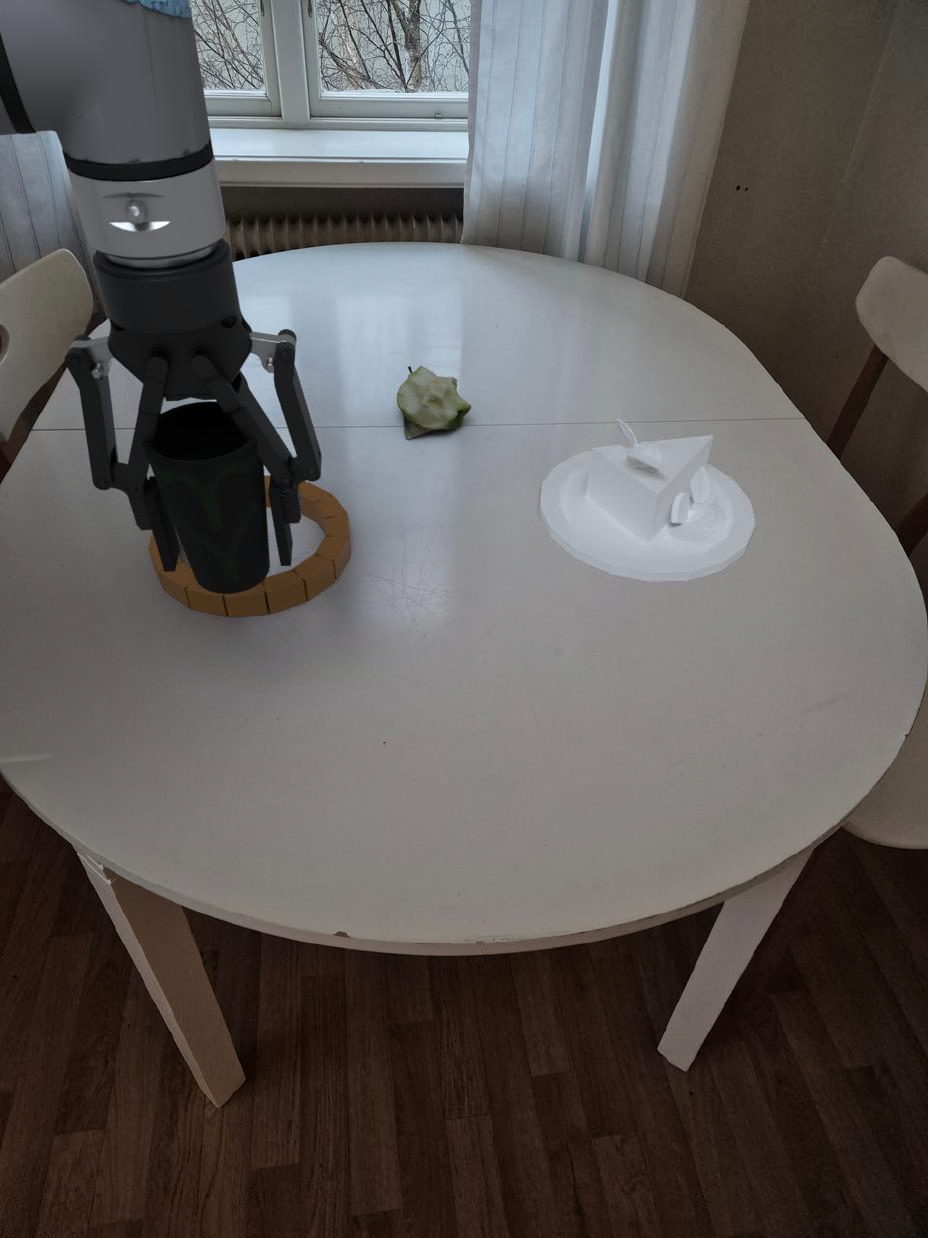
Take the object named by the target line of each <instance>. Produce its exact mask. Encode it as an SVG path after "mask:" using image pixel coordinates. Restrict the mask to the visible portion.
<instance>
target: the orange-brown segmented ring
mask: <svg viewBox="0 0 928 1238" xmlns="http://www.w3.org/2000/svg"><path fill="white" fill-rule="evenodd" d="M264 477H265V493H266V508H271V507H270V501H269V495H268V492H269V483H270V474H268V475H267V474H264ZM299 488H300V495H301V502H302V513H301V515H302V516H305V517H306V518H308V519H310V520H312V521H314V522H316V524H318V526H319V527H320V529H321V530H322V532H323V534H325V536H324V538H323V540H322V541H321V542H320V544H319V545H318V548H317V549H316V550H315V552H314V553H313V554H312V555H310V556H309V557H307V558H306V559H304V560H303V561H301V562H300V563H299V564H297V565H295V566H294V567H293V568H291V569H288V570H284V571H281V572H279V573H275V574H272V575H270V576H266V578H265V579H264V580H263V581H262V582H261V583H259V584H258V585H256V586H255V587H253V588H251V589H248V590H246V591H243V592H239V593H233V594H218V593H214V592H210V591H208V590H206V589H204V588H202V587H201V586H200V585H199V584H198V582H197V581H196V579H195V576H194V574H193V571H192V569H191V566H190V565H188V564H186V563H185V562H183V561H182V560H181V558H180V557H181V551H182V548H183V546H182V544H181V541H180V539H179V536H178V534H177V531H176V534H177V538H178V541H179V545H180V552H179V556H178V561H177V565H176V569H175V571H174V572H164V569H163V565H162V562H161V558H160V555H159V552H158V548H157V545H156V541H155V538H154V535H153V531H152V530H151V535H150V539H149V542H148V543H149V544H148V553H149V557H150V560H151V563H152V568H153V570H154V572H155V573H156V574H155V575H156V577H157V579H158V581H159V583H160V585H161V587H162V589H163V590H162V591H164V592H165V593H166V594H167V595H169V596H170V597H172V598H173V599H175V601H178V602H179V603H181V604H182V605H184V606H185V607H187V608H188V609H191V610H193V611H197V612H201V613H207V614H210V615H215V616H220V617H224V618H227V617H228V618H240V617H241V618H242V617H253V616H254V617H255V616H268V615H269V614H270V615H273V614H275V613H279V612H281V611H284V610H288V609H290V608H293V607H296V606H300V605H303V604H304V603H305V604H306V603H307V601H308V602H309V601H311V600H312V599H314V598H315V597H317V596H318V595H320V594H321V593H322V592H324V591H325V590H326V589H328V588H329V587H331V586H332V585H333V584H335V583H336V581H338V579H339V577H340V575H341V574H342V572H343V571H344V569H345V567H346V565H347V564H348V563H349V561H350V559H351V555H352V554H351V553H352V552H351V551H352V550H351V531H350V530H351V529H350V520H349V515H348V512H347V511H346V510H345V508H344V506H342V504H341V503H340V501H339V500H338V499H337V497H336V496H335V495H333V493H330V492H329V491H327V490H326V489H324V488H321V487H320V486H318V485H316V484H314V483H313V482H310V481H307V480H306V481H304V482H301V483H300V484H299ZM174 527H175V526H174ZM175 530H176V529H175Z"/></svg>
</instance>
